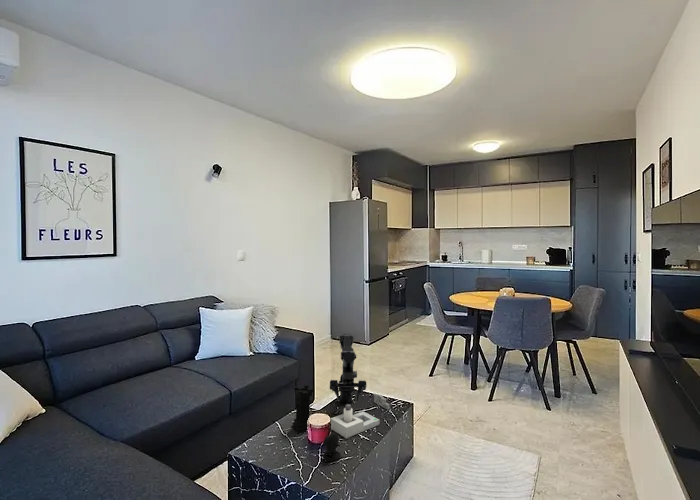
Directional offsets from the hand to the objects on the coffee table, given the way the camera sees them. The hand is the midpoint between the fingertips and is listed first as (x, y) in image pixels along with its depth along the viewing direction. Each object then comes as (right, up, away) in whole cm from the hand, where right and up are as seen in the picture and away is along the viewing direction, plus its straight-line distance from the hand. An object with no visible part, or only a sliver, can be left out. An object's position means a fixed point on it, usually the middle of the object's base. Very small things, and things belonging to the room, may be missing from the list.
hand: (348, 401), depth 193 cm
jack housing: (+4, -12, -1) cm, 12 cm away
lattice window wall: (+19, -12, +24) cm, 33 cm away
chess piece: (-22, -11, -5) cm, 25 cm away
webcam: (-7, -12, -29) cm, 32 cm away
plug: (0, -12, -5) cm, 13 cm away
